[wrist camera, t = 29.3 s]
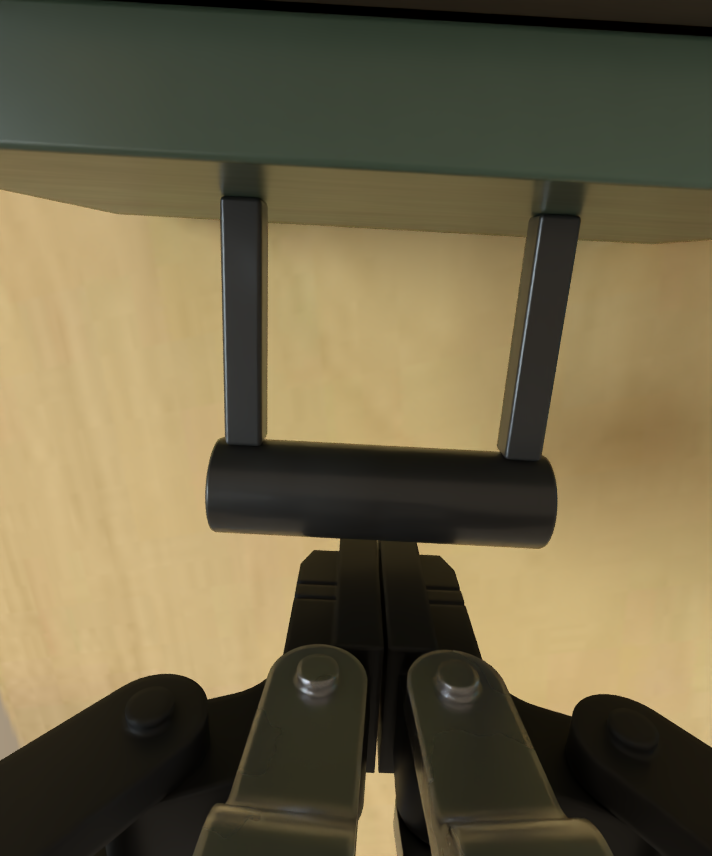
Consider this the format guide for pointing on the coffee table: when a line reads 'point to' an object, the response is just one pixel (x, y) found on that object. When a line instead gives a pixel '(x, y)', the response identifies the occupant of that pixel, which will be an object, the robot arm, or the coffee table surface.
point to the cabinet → (562, 8)
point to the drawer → (366, 199)
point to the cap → (405, 13)
